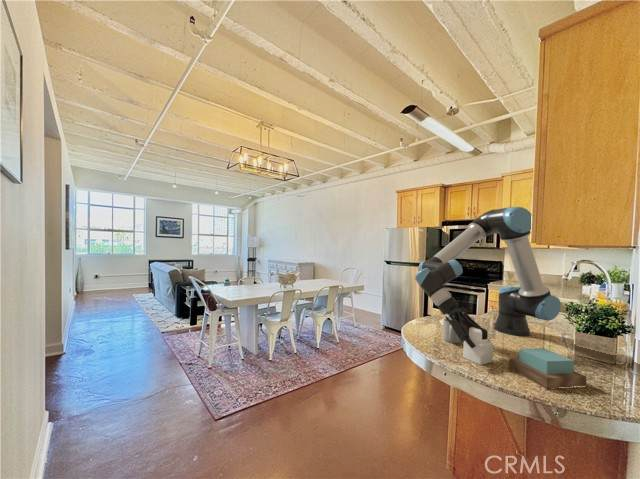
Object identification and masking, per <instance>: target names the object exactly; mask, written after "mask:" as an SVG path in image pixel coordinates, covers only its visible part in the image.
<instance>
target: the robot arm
mask: <svg viewBox="0 0 640 479" xmlns="http://www.w3.org/2000/svg"><path fill="white" fill-rule="evenodd" d="M531 215H532V213H531V212H530V211H529V210H528V209H527V208H524V207H523V206H510V207H502V208H497V209H496V208H495V209H490V210H488V211H486V212H484V213H483V214H481V215H479V216H478V217H476V218H475V219H474V220H473V221H472V222H470V223H469V224H468V225H467V228H466V229H465V230H464V231H463V232H461V233H460V234H459V235H458V236H456V237H455V238H454V239H453V240H452V241H451V242H449V243H448V244H447V245H445V246H444V247H443V248H442V249H441V250H439V251H438V252H437V253H436V254H434V255H433V256H432V257H431V258H429V259H428V260H423V261H421V262H420V263H419V265H418V272H417V273H416V274H415V276H414V279H415V281H416V283H417V284H418V286H419V287H420V288H421V289H422V291H424V292H425V294H426V295H427V296H428V298H430V300H431V302H432V303H434V305H435V306H437V308H438V310H439V311H440V312H441V313H442V315H446V314H447V315H446V316H445V318H444V319H447V320H448V321H449V323H450V324H451V326H452V328H453V329H454V331H455V332H456V334H457V336H458V337H459V339H460V340H461V342H462V343H463V342H464V341H465V342H466V343H467V344H468V345H469V346H470V348H471V349H472V350H473V351H474V353H475V354H476V355H477V356H478V357H480V356H482V355H483V354H485V352H484V351H483V350H482V349H481V348H480V346H479V345H478V344H477V343H476V342H475V340H474V339H473V338H472V337H470V336H469V334H468V332H467V330H466V328H465V327H464V325H465V326H467V327H468V328H470V327H481V325H479V324H478V323H477V321H475V320H474V319H473V318H472V317H471V316H470V315H469V314H468V313H467V312H466V310H464V309H463V308H460V309H459V308H458V306H459V302H458V300H456V299H455V297H454V296H452V293H451V292H450V291H449V290H448V289H447V288H446V287H445V286H444V285H447V284H448V283H449V282H452V280H455V279H457V278H458V277H459V276H462V274H463V273H464V272H463V271H464V270H463V267H462V264H460V262H459V261H457V260H456V259H458V258H459V257H460V256H461V255H462V254H464V252H466V251H467V250H469V248H471V247H472V246H473V245H475V243H477V242H478V241H479V240H483V239H485V238H486V237H488V236H489V235H493V234H498V235H499V238H500V240H501V241H503V242H505V245H506V248H507V250H508V253H509V256H510V260H511V262H512V265H513V268H514V271H515V272H514V273H515V275H516V277H517V281H518V283H519V286H500V288H499V292H498V314H497V316H496V319H495V322H494V324H493V328H494V330H495V331H498V332H500V333H503V334H506V335H507V334H508V335H511V336H518V337H519V336H520V337H527V336H531V329H530V327H529V324H528V320H527V316H528V317H532V318H534V319H535V318H536V319H537V320H543V321H552V320H554V319H556V318H557V317H558V315H559V314H560V312H561V308H562V303H561V300H560V298H559V297H557V296H556V295H553V294H551V291H550V290H551V289H550V288H549V287H548V286H546V285H544V283H543V278H542V276H541V274H540V270H539V267H538V264H537V261H536V258H535V255H534V252H533V250H532V246H531V243H530V240H529V236H530V234H531V230H532V229H531ZM532 216H533V215H532ZM463 324H464V325H463ZM487 341H488V342H491V341H490V339H489V338H488V337H487ZM493 347H495V346H494V344H493Z"/></svg>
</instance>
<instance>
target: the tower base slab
mask: <svg viewBox="0 0 640 479" xmlns="http://www.w3.org/2000/svg"><path fill="white" fill-rule="evenodd" d="M508 369H510V370H511V371H513V372H515V373H517V374H519V375H520V376H522V377H525V378H526V379H528V380H529V381H531V382H533V383H534V384H536V385H539V386H541V387H542V388H544V389H545V390H552V389H551V388H559V387H572V386H573V387H574V386H586V387H587V376H586V375H584V374H581V373H579V372H577V371H575V370H574V373H562V374H545V373H543V372H541V371H539V370H537V369H535V368H533V367H531V366H529V365H527V364H525V363H523V362H521V361H519V357H518V358H517V357H514V358H513V357H510V358H508Z"/></svg>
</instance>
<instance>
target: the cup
mask: <svg viewBox="0 0 640 479" xmlns="http://www.w3.org/2000/svg"><path fill="white" fill-rule="evenodd" d="M442 329H443V330H442V339H443V340H444V342H446V343H450V344H460V343H461V342H462V341H461V340H460V339H459V337H458V336H457V334H456V332H455V331H454V329H453V328H452V326H451V324H450V323H449V321H448V320H447V319H446V318H444V319H443V326H442Z"/></svg>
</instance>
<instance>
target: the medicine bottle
mask: <svg viewBox="0 0 640 479" xmlns="http://www.w3.org/2000/svg"><path fill="white" fill-rule="evenodd" d="M488 334H489V332H488V330H487V329H485V328H483V327H481V326H480V327H470V328H469V336H470V337H472V338H473V339H474V340H475V342H476V343H477V344H478V345H479V346H480V348H481V349H482V350H483V351H484V352H485V354H483V355H482V356H480V357H478V356H477V355H476V354H475V353H474V351H473V350H472V349H471V348H470V346H469V345H468V344H467V343H466V342H465V341H464V342H462V344H463V345H462V348H463V349H462V358H463V359H466V360H468V361H470V362H473V363H475V364H477V365H479V366H482V365H485V364H490V363H493V355H494V354H493V353H494V349H493V348H494V346H493V345H494V343H492V342H491V341H490V342H488V341H487V338H488Z"/></svg>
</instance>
